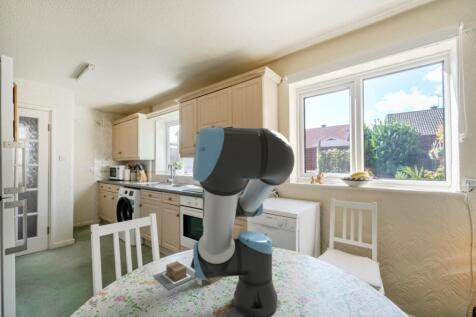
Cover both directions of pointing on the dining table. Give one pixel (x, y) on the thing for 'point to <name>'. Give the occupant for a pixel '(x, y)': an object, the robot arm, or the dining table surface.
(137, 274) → the dining table surface
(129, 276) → the dining table surface
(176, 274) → the base block
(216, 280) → the oak block
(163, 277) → the mat
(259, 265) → the robot arm
